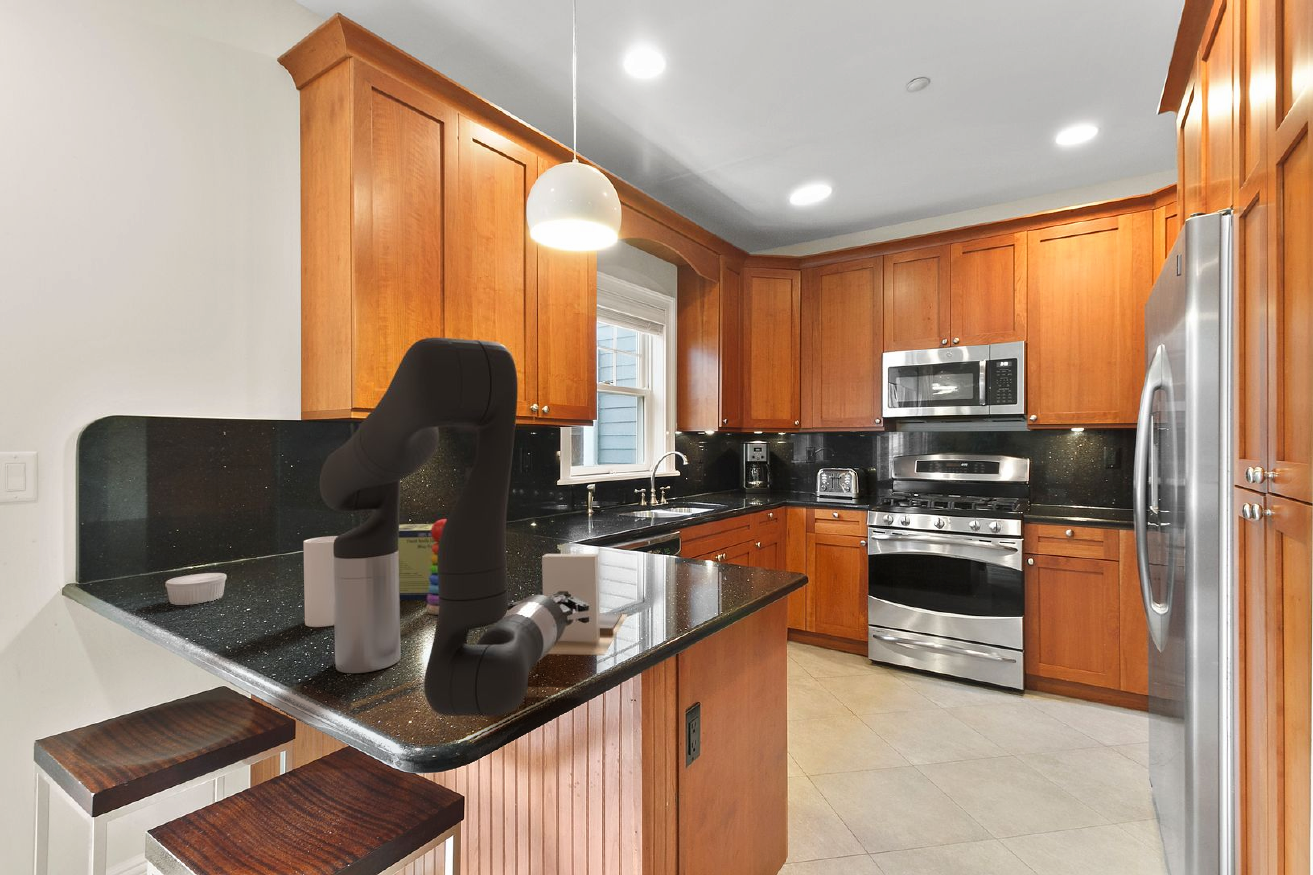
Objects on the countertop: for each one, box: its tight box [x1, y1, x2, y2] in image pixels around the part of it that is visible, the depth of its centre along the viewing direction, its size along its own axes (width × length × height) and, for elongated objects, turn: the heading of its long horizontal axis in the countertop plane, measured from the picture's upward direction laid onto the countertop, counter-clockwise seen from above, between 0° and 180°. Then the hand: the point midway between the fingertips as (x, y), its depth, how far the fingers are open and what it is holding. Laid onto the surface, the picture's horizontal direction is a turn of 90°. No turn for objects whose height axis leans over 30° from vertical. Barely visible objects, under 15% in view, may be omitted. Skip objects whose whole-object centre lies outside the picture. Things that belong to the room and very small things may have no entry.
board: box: [546, 612, 628, 656], centre depth 106 cm, size 22×14×2 cm, turn 173°
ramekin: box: [165, 572, 228, 605], centre depth 139 cm, size 11×11×5 cm
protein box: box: [398, 523, 438, 601], centre depth 140 cm, size 10×16×16 cm
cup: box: [303, 535, 339, 628], centre depth 120 cm, size 8×8×16 cm
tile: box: [541, 553, 600, 641], centre depth 103 cm, size 3×9×14 cm, turn 83°
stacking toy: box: [425, 518, 447, 616], centre depth 125 cm, size 8×8×19 cm
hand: (564, 597), depth 98 cm, fingers closed
